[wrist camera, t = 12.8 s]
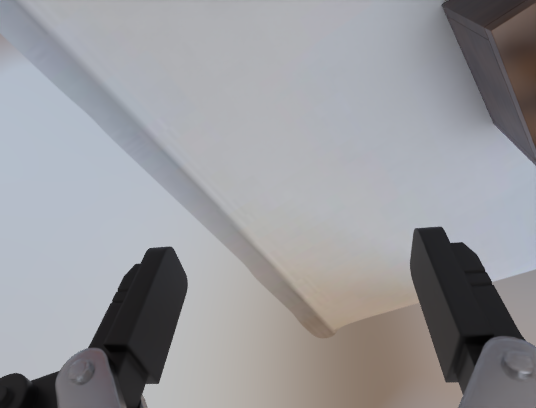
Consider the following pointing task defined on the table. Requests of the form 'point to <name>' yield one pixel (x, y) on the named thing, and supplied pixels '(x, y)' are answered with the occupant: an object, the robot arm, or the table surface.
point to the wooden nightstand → (501, 61)
